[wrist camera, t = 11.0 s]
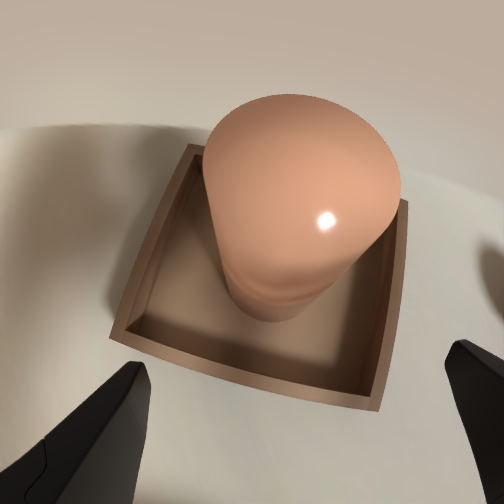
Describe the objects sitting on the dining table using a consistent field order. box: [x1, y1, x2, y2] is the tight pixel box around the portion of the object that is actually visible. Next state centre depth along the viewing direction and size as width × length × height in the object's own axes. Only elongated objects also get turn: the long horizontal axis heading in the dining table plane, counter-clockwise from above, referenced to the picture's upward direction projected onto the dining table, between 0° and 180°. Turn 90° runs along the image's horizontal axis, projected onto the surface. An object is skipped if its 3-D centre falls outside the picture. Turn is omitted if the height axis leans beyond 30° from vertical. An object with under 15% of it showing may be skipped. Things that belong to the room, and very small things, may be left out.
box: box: [109, 144, 408, 412], centre depth 19 cm, size 16×14×3 cm
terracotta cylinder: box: [202, 94, 401, 322], centre depth 14 cm, size 6×6×12 cm
